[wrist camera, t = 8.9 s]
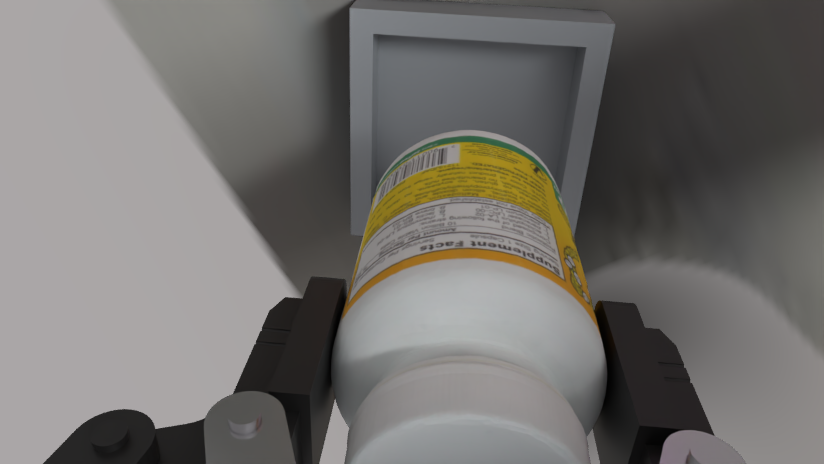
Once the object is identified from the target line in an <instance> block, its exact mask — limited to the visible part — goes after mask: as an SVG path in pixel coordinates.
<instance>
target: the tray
mask: <svg viewBox="0 0 824 464" xmlns="http://www.w3.org/2000/svg"><path fill="white" fill-rule="evenodd" d="M614 29H615V23H614V22H613V21H612V20H611V19H610V17H609V16H608V15H607V14H606V13H605V12H604V11H598V10H581V9H564V8H548V7H531V6H514V5H498V4H481V3H464V2H448V1H431V0H356V1H355V2H354V3H353V5H352V6H351V7H350V183H351V235H356V236H363V235H364V232H365V228H366V225H367V221H368V217H369V214H370V210H371V206H372V202H373V198H374V195H375V192H376V189H377V186H378V184H379V182H380V180H381V178H382V177H383V175H384V174H385V172H386V171H387V169H388V168H389V167H390V165H391V164H392V163H393V162H394V161H395V160H396V159H397V157H399V156H400V155H401V154H402V153H403V152H405V151H406V150H407V149H409V148H410V147H412V146H413V145H415V144H417V143H419V142H421V141H422V140H424V139H427V138H429V137H432V136H435V135H438V134H442V133H446V132H452V131H458V130H478V131H485V132H490V133H495V134H499V135H502V136H505V137H507V138H510V139H512V140H515V141H517V142H518V143H520V144H522V145H524V146H525V147H527V148H528V149H530V150H531V151H532V152H533V153H535V154H536V155H537V156H538V157H539V158H540V159H541V161H542V162H543V163H544V164H545V165H546V166H547V168H548V170H549V171H550V173H551V175H552V177H553V178H554V180H555V183H556V185H557V187H558V189H559V192H560V195H561V197H562V200H563V202H564V205H565V209H566V212H567V215H568V219H569V223H570V227H571V230H572V234H573V237H574V235H575V230H576V225H577V220H578V215H579V209H580V204H581V199H582V194H583V189H584V184H585V179H586V173H587V168H588V163H589V158H590V153H591V148H592V143H593V137H594V132H595V127H596V122H597V117H598V112H599V107H600V101H601V96H602V91H603V86H604V81H605V76H606V71H607V65H608V60H609V55H610V50H611V45H612V40H613V35H614Z"/></svg>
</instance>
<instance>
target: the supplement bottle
mask: <svg viewBox="0 0 824 464" xmlns="http://www.w3.org/2000/svg"><path fill="white" fill-rule="evenodd" d="M331 380H332V387H333V392H334V396H335V399H336V403H337V406H338V408H339V410H340V412H341V415H342V417H343V418H344V420H345V422H346V424H347V425H348V427H349V433H348V440H347V452H346V458H345V464H591V463H590V457H589V451H588V442H587V436H588V434H589V433H590V431H591V430H592V428H593V426H594V425H595V423H596V421H597V419H598V416H599V414H600V412H601V410H602V406H603V403H604V399H605V395H606V388H607V364H606V357H605V352H604V347H603V343H602V339H601V335H600V331H599V327H598V324H597V320H596V316H595V313H594V310H593V306H592V300H591V297H590V294H589V291H588V286H587V282H586V279H585V276H584V272H583V269H582V265H581V262H580V258H579V255H578V253H577V249H576V245H575V240H574V237H573V234H572V230H571V227H570V223H569V219H568V215H567V212H566V209H565V205H564V202H563V200H562V197H561V195H560V192H559V189H558V187H557V185H556V183H555V180H554V178H553V177H552V175H551V173H550V171H549V170H548V168H547V166H546V165H545V164H544V163H543V162H542V161H541V159H540V158H539V157H538V156H537V155H536V154H535V153H533V152H532V151H531V150H530V149H528V148H527V147H525V146H524V145H522V144H520V143H518V142H517V141H515V140H512V139H510V138H507V137H505V136H502V135H499V134H495V133H490V132H485V131H478V130H458V131H452V132H446V133H442V134H438V135H435V136H432V137H429V138H427V139H424V140H422V141H421V142H419V143H417V144H415V145H413V146H412V147H410V148H409V149H407V150H406V151H405V152H403V153H402V154H401V155H400V156H399V157H397V159H396V160H395V161H394V162H393V163H392V164H391V165H390V167H389V168H388V169H387V171H386V172H385V174H384V175H383V177H382V178H381V180H380V182H379V184H378V186H377V189H376V192H375V195H374V198H373V202H372V206H371V210H370V214H369V217H368V221H367V225H366V228H365V232H364V235H363V239H362V243H361V246H360V250H359V254H358V258H357V262H356V265H355V269H354V273H353V277H352V280H351V284H350V288H349V291H348V295H347V298H346V302H345V305H344V309H343V312H342V316H341V319H340V323H339V326H338V330H337V333H336V337H335V341H334V345H333V350H332V358H331Z"/></svg>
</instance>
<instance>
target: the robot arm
mask: <svg viewBox="0 0 824 464" xmlns="http://www.w3.org/2000/svg"><path fill="white" fill-rule="evenodd" d="M346 298H347V288H346V280H345V279H337V278H325V277H311V278H310V281H309V283H308V286H307V289H306V291H305V294H304V297H303V299H300V298H288V297H285V298H284V299H283V300H282V301H280V302H279V303H278V304H277V305H276V306H275V307H274V308H272V309H271V310H270V311H269V313H268V315H267V318H266V320H265V322H264V324H263V327H262V331H261V332H260V334H259V336H258V338H257V340H256V345H254V347H253V350H252V352H251V354H250V356H249V359H248V361H247V363H246V365H245V368H244V370H243V372H242V375H241V377H240V379H239V382H238V384H237V386H236V389H235V391H234V393H233V394H232V395H229V396H227V397H225V398H223V399H221V400H220V401H219V402H217V403H216V404H215V405H214V406H213V407H212V408H211V409H210V410H209V412H208V413H207V415H206V417H205V419H202V420H200V421H197V422H194V423H189V424H183V425H177V426H172V427H165V428H159V429H155V426H154V423H153V422H152V420H151V419H150V418H149V417H148V416H147V415H145V414H144V413H141V412H139V411H135V410H127V409H122V410H114V411H109V412H106V413H103V414H100V415H98V416H95V417H93V418H91V419H90V420H88V421H86V422H85V423H83V424H82V425H81V426H80V427H79V428H78V429H76V430H75V431H74V433H72V434H71V435H70V436H69V438H68V439H67V440H66V441H65V442H64V443H63V444H62V445H61V446H60V447H59V448H58V449H57V450H56V451H55V452H54V453H53V454H52V455H51V456H50V457H49V458H48V459H47V460H46V461H45V462H44V463H43V464H319V462H320V457H321V453H322V449H323V445H324V441H325V437H326V433H327V429H328V425H329V421H330V417H331V412H332V409H333V404H334V400H335V396H334V392H333V387H332V380H331V358H332V350H333V345H334V341H335V337H336V333H337V330H338V326H339V323H340V319H341V316H342V312H343V309H344V305H345V302H346ZM594 313H595V316H596V320H597V324H598V327H599V331H600V335H601V339H602V343H603V347H604V352H605V357H606V364H607V388H606V395H605V399H604V403H603V406H602V410H601V412H600V414H599V416H598V419H597V421H596V423H595V425H594V426H593V432H594V437H595V441H596V446H597V451H598V455H599V460H600V464H746V463H745V461H744V459H743V458H742V456H741V455H740V454H739V453H738V452H737V451H736V450H735V449H734V448H733V447H732V446H730V445H729V444H728V443H726V442H724V441H723V440H721V439H719V438H717V437H715V436H714V433H713V431H712V429H711V426H710V424H709V422H708V419H707V417H706V415H705V412H704V410H703V408H702V405H701V403H700V401H699V398H698V396H697V394H696V392H695V389H694V387H693V385H692V383H690V377H689V375H688V373H687V370H686V368H684V363H683V361H682V359H681V356H680V354H679V352H678V349H677V347H676V345H675V344H674V343H672V341H671V340H670V339H669V338H668V337H667V336H666V335H665V334H664V333H663V332H662V331H661V330H660V329H652V328H645V327H644V324H643V321H642V319H641V316H640V313H639V311H638V309H637V306H636V305H635V304H634V303H623V302H610V301H598V302H597V304H596V306H595V310H594Z"/></svg>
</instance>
